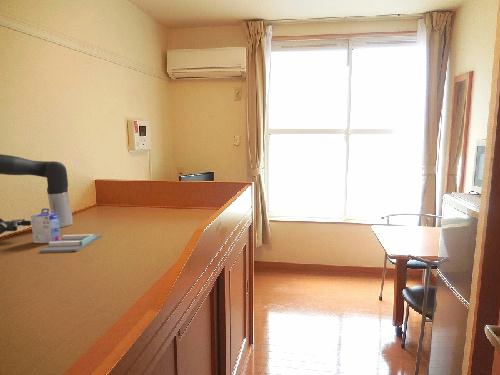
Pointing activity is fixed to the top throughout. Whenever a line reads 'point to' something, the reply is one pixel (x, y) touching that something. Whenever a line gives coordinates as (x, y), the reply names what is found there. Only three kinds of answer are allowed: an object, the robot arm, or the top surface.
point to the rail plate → (70, 243)
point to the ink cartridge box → (45, 227)
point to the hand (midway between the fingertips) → (23, 225)
